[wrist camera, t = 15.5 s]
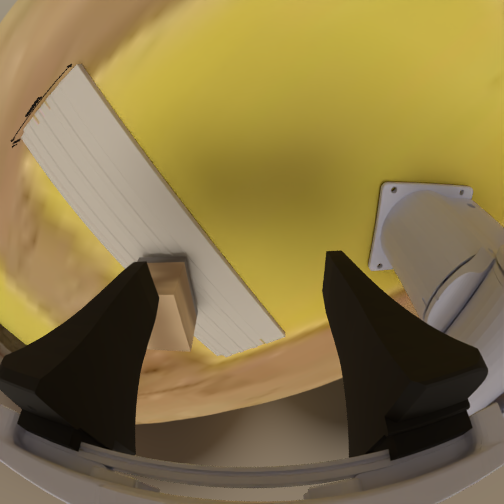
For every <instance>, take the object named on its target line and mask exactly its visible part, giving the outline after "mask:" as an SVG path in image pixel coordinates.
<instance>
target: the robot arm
mask: <svg viewBox="0 0 504 504" xmlns="http://www.w3.org/2000/svg"><path fill="white" fill-rule="evenodd" d="M393 187H395V190H394V191H391V189H392V188H393ZM460 191H461V192H460ZM472 195H473V189H472V188H471V187H469V186H461V185H447V184H430V183H407V182H385V183H383V184H382V186H381V191H380V198H379V206H378V212H377V219H376V225H375V231H374V237H373V243H372V248H371V253H370V258H369V263H368V267H369V269H370V270H372V271H377V270H388V269H394V271H395V273H396V274H397V276H398V278H399V280H400V281H401V283H402V285H403V287H404V289H405V291H406V292H407V294H408V296H409V298H410V300H411V302H412V304H413V306H414V308H415V310H416V312H417V314H418V316H419V318H420V319H419V318H418V317H416V316H415V315H413V314H412V313H410V312H409V311H408V310H406V309H405V308H404V307H402V306H401V305H400V304H398V303H397V302H396V301H394V300H393V299H392V298H391V297H390V296H388V295H387V294H386V293H385V292H384V291H383V290H381V289H380V288H379V287H378V286H377V285H376V284H375V283H374V282H373V281H372V280H371V279H370V278H368V277H367V276H366V275H365V274H364V273H363V272H362V271H361V270H360V269H359V268H358V267H357V266H356V265H355V264H354V263H353V262H352V261H351V260H350V259H349V258H348V257H347V256H346V254H345V253H343V252H342V251H326V261H325V271H324V280H323V289H322V292H323V298H324V304H325V309H326V314H327V318H328V321H329V324H330V328H331V331H332V335H333V338H334V341H335V345H336V348H337V352H338V356H339V359H340V364H341V369H342V375H343V382H344V389H345V398H346V407H347V418H348V419H347V420H348V435H349V436H348V437H349V458H345V459H339V460H333V461H326V462H319V463H311V464H301V465H290V466H275V467H221V466H220V467H219V466H204V465H193V464H183V463H175V462H168V461H161V460H155V459H148V458H144V457H138V456H134V455H135V454H136V451H135V450H136V449H135V417H136V403H137V393H138V385H139V378H140V372H141V367H142V363H143V360H144V356H145V353H146V350H147V346H148V343H149V340H150V337H151V333H152V330H153V327H154V323H155V320H156V315H157V310H158V304H159V295H158V293H157V290H156V287H155V284H154V281H153V279H152V276H151V273H150V270H149V267H148V264H147V261H143V262H133V263H132V264H130V265H129V266H128V267H127V268H126V269H125V270H123V271H122V272H121V273H120V274H119V275H118V276H117V277H116V278H115V279H114V280H113V281H112V282H111V283H110V284H108V285H107V286H106V287H105V288H104V289H103V290H102V291H101V292H100V293H99V294H98V295H97V296H96V297H94V298H93V299H92V300H91V301H90V302H89V303H88V304H87V305H86V306H84V307H83V308H82V309H81V310H80V311H78V312H77V313H76V314H75V315H73V316H72V317H71V318H70V319H68V320H67V321H66V322H64V323H63V324H61V325H60V326H58V327H57V328H55V329H54V330H52V331H51V332H49V333H48V334H46V335H45V336H43V337H41V338H40V339H38V340H36V341H34V342H33V343H31V344H29V345H27V346H25V347H23V348H21V349H19V350H16V351H14V352H12V353H10V354H8V355H5V356H4V358H3V360H2V362H1V364H0V390H1V391H2V392H3V393H4V394H5V395H7V396H8V397H9V398H10V399H11V400H12V401H13V402H14V403H15V404H17V405H18V406H19V407H21V409H22V411H21V414H19V413H17V412H16V411H14V410H12V409H10V408H8V407H6V406H4V405H2V404H0V461H1V462H3V463H4V464H5V465H7V466H8V467H9V468H11V469H12V470H13V471H15V472H16V473H18V474H19V475H21V476H22V477H24V478H25V479H26V480H28V481H30V482H32V483H33V484H34V485H36V486H37V487H39V488H41V489H42V490H44V491H46V492H47V493H49V494H51V495H53V496H54V497H56V498H58V499H60V500H61V501H63V502H65V503H67V504H438V503H440V502H442V501H444V500H446V499H448V498H450V497H452V496H453V495H455V494H457V493H459V492H461V491H463V490H464V489H466V488H468V487H469V486H471V485H473V484H475V483H476V482H478V481H479V480H481V479H483V478H484V477H486V476H488V475H489V474H491V473H492V472H494V471H495V470H497V469H498V468H500V467H501V466H503V465H504V228H503V227H502V226H501V225H500V224H499V223H498V222H497V221H496V220H495V219H494V218H493V217H491V216H490V215H489V214H488V213H487V212H486V211H485V210H483V209H482V208H481V207H480V206H479V205H478V204H476V203H475V202H474V201H473V200H472ZM378 264H380V265H379V266H378ZM114 470H115V471H119V472H123V473H127V474H131V475H136V476H140V477H145V478H150V479H155V480H161V481H167V482H173V483H180V484H188V485H198V486H209V487H224V488H275V487H292V486H303V485H312V484H319V483H327V482H333V481H338V482H333V483H329V484H324V485H319V486H314V487H310V488H309V489H308V492H307V493H305V494H304V500H296V501H272V502H250V501H246V502H245V501H225V500H211V499H201V498H192V497H184V496H177V495H170V494H164V493H160V489H159V488H157V487H153V486H151V485H148V484H145V483H143V482H140V481H138V480H137V479H135V478H132V477H129V476H126V475H122V474H119V473H116V472H114ZM350 478H351V479H350ZM345 479H346V480H345ZM339 480H342V481H339Z"/></svg>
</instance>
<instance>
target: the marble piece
mask: <svg viewBox="0 0 504 504" xmlns="http://www.w3.org/2000/svg"><path fill="white" fill-rule="evenodd" d="M25 346H26V345H25V344H24V343H23V342H21V341H20V340H19V339H18V338H16V337H15V336H14V335H13V334H12V333H10V332H9V331H8V330H7V329H6V328H4V327H3V326H2V325H1V324H0V364H1V362H2V360H3V358H4V356H5V355H8V354H10V353H12V352H14V351H16V350H19V349H21V348H23V347H25Z"/></svg>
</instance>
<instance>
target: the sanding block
mask: <svg viewBox="0 0 504 504" xmlns="http://www.w3.org/2000/svg"><path fill="white" fill-rule="evenodd" d="M143 261H147V264H148V267H149V270H150V273H151V276H152V279H153V281H154V284H155V287H156V290H157V293H158V295H159V304H158V310H157V315H156V320H155V323H154V327H153V330H152V333H151V337H150V340H149V343H148V346H147V349H152V350H168V351H191V347H192V341H193V336H194V330H195V325H196V320H197V315H198V309H197V305H196V301H195V296H194V291H193V287H192V282H191V277H190V272H189V267H188V262H187V257H186V256H171V257H139V259H138V261H137V262H143Z"/></svg>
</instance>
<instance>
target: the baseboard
mask: <svg viewBox="0 0 504 504" xmlns="http://www.w3.org/2000/svg"><path fill="white" fill-rule="evenodd" d="M71 66H72V64H70V65H69V66H67V67H68V68H69V67H71ZM68 68H67V69H68ZM67 69H66V70H67ZM66 70H65V71H66ZM65 71H64V72H65ZM64 72H63V73H64ZM63 73H62V74H63ZM62 74H61V76H62ZM61 76H60V77H61ZM60 77H59V78H60ZM59 78H58V79H59ZM58 79H57V80H58ZM57 80H56V81H57ZM56 81H55V82H56ZM54 84H55V83H54ZM54 84H53V85H54ZM53 85H52V86H53ZM52 86H51V87H52ZM51 87H50V88H51ZM50 88H49V90H50ZM49 90H48V91H49ZM48 91H47V92H48ZM47 92H46V93H47ZM46 93H45V94H46ZM44 96H45V95H44ZM44 96H43V97H44ZM43 97H42V96H41V97H40V98H39V97H38V98H37V100H36V101H35V102H34V104H33V105H32V107H31V108H30V110H29V112H27V114H26V115H25V117H27V116H28V115H29V116H30V114H31V113H32V112H31V111H33V110H34V109H35V108H34V106H35V107H36V106H37V105H38V104H37V105H36V103H39V102H40V101H41V100H42V98H43ZM38 99H39V100H40V99H41V100H40V101H39V100H38ZM33 108H34V109H33ZM30 112H31V113H30ZM29 113H30V114H29ZM29 116H28V117H29ZM28 117H27V118H28ZM26 120H27V119H26ZM26 120H25V121H26ZM25 121H24V123H25ZM24 123H23V124H24ZM23 124H22V126H23ZM22 126H21V127H22ZM21 127H20V128H21ZM19 130H20V129H19ZM19 130H18V131H19ZM17 133H18V132H17ZM17 133H16V135H17ZM16 135H15V136H16ZM14 138H15V137H14ZM14 138H13V140H14ZM21 138H22V140H23V141H24V143H25V144H26V146H27V147H28V149H29V150H30V152H31V153H32V155H33V156H34V158H35V159H36V161H37V162H38V163H39V165H40V166H41V168H42V169H43V170H44V172H45V173H46V175H47V176H48V177H49V179H50V180H51V181H52V183H53V184H54V185H55V187H56V188H57V189H58V191H59V192H60V193H61V195H62V196H63V197H64V198H65V200H66V201H67V202H68V204H69V205H70V206H71V207H72V209H73V210H74V211H75V212H76V213H77V215H78V216H79V217H80V218H81V220H82V221H83V222H84V223H85V224H86V226H87V227H88V228H89V229H90V230H91V231H92V233H93V234H94V235H95V236H96V237H97V238H98V240H99V241H100V242H101V243H102V244H103V245H104V246H105V247H106V249H107V250H108V251H109V252H110V253H111V254H112V255H113V256H114V257H115V259H116V260H117V261H118V262H119V263H120V264H121V265H122V266H123V267H124V268H125V269H126V268H127V267H128V266H129V265H130V264H132V263H133V262H137V261H138V259H139V257H171V256H186V257H187V262H188V267H189V272H190V277H191V282H192V287H193V291H194V296H195V301H196V305H197V309H198V315H197V320H196V325H195V330H194V336H195V337H196V338H197V339H198V340H199V341H201V342H202V343H203V344H204V345H205V346H206V347H207V348H209V349H210V350H211V351H212V352H213V353H214V354H216V355H217V356H219V355H223V356H225V357H228V356H231V355H232V354H235V353H238V352H243V351H245V350H247V349H250V348H255V347H257V346H259V345H262V344H265V343H269V342H272V341H275V340H278V339H280V338H283V337H285V332H284V331H283V330H282V328H281V327H280V326H279V325H278V324H277V322H276V321H275V320H274V319H273V317H272V316H271V315H270V314H269V313H268V311H267V310H266V309H265V308H264V306H263V305H262V304H261V303H260V301H259V300H258V299H257V298H256V296H255V295H254V294H253V293H252V291H251V290H250V289H249V288H248V286H247V285H246V284H245V283H244V281H243V280H242V279H241V278H240V276H239V275H238V274H237V273H236V271H235V270H234V269H233V268H232V266H231V265H230V264H229V263H228V261H227V260H226V259H225V257H224V256H223V255H222V254H221V252H220V251H219V250H218V249H217V247H216V246H215V245H214V243H213V242H212V241H211V240H210V238H209V237H208V236H207V234H206V233H205V232H204V231H203V229H202V228H201V227H200V225H199V224H198V223H197V222H196V220H195V219H194V218H193V216H192V215H191V214H190V212H189V211H188V210H187V208H186V207H185V206H184V205H183V203H182V202H181V201H180V199H179V198H178V197H177V195H176V194H175V193H174V191H173V190H172V189H171V187H170V186H169V185H168V183H167V182H166V181H165V179H164V178H163V177H162V175H161V174H160V173H159V171H158V170H157V169H156V167H155V166H154V165H153V163H152V162H151V161H150V159H149V158H148V157H147V155H146V154H145V152H144V151H143V150H142V148H141V147H140V146H139V144H138V143H137V142H136V140H135V139H134V137H133V136H132V135H131V133H130V132H129V131H128V129H127V128H126V126H125V125H124V124H123V122H122V121H121V120H120V118H119V117H118V115H117V114H116V113H115V111H114V110H113V108H112V107H111V106H110V104H109V103H108V101H107V100H106V99H105V97H104V96H103V94H102V93H101V91H100V90H99V89H98V87H97V86H96V84H95V83H94V81H93V80H92V79H91V77H90V76H89V74H88V73H87V71H86V70H85V68H84V67H83V66H82V64H77V65H76V66H75V67H74V68H73V69H72V70H71V71H70V72H69V73H68V74H67V75H66V76H65V78H64V79H63V80H62V81H61V82H60V83H59V84H58V86H57V87H56V88H55V90H54V91H53V92H52V93H51V94H50V95H49V96H48V97H47V99H46V101H45V102H44V103H43V104H42V106H41V107H40V108H39V109H38V110H37V111H36V113H35V115H34V116H33V118H32V119H31V120H30V122H29V123H28V124H27V125H26V127H25V128H24V134H23V135H22V137H21ZM13 140H11V142H12V141H13ZM18 141H20V139H19V140H17V141H14V142H13V144H15V143H17V142H18ZM16 145H17V144H16ZM13 146H15V145H13ZM13 146H12V148H13Z"/></svg>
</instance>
